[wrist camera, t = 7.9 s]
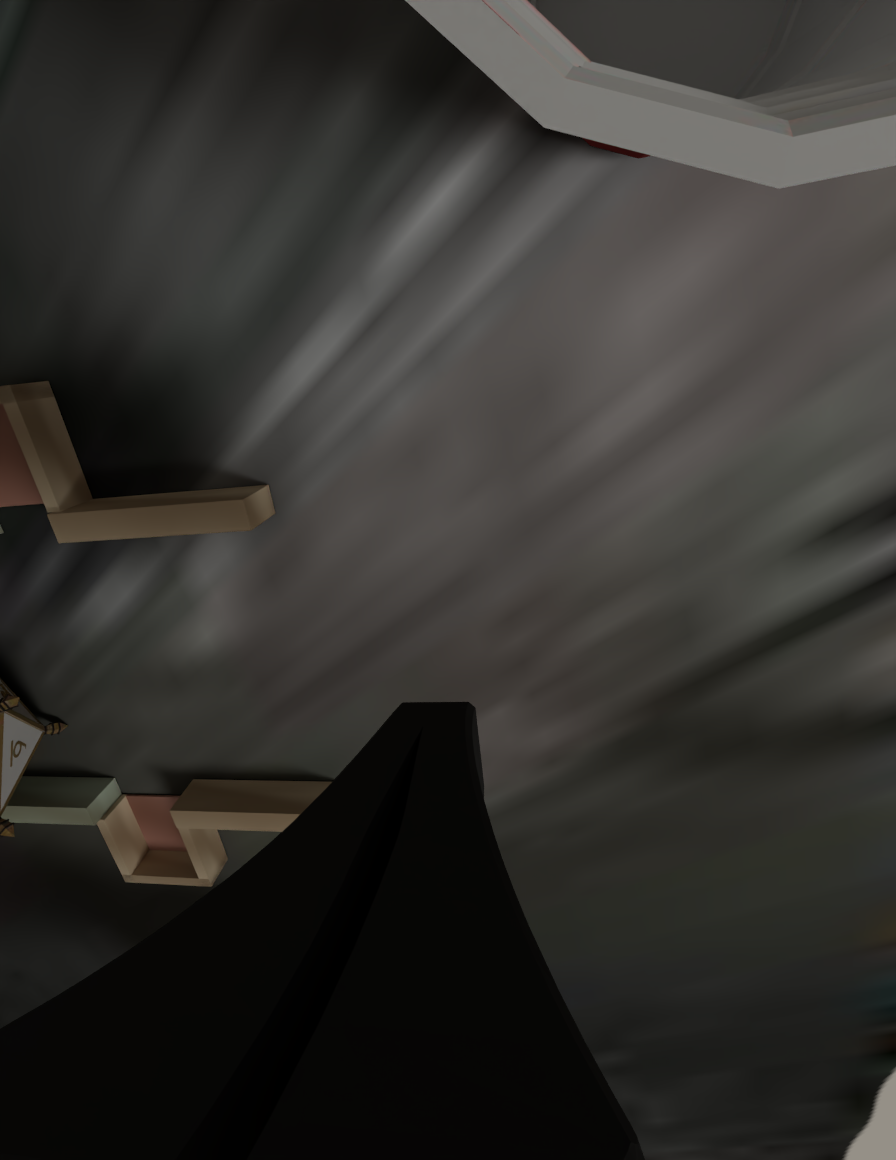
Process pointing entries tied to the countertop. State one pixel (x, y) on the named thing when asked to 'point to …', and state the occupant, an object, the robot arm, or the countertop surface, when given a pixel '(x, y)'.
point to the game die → (17, 746)
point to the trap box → (54, 478)
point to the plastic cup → (697, 78)
